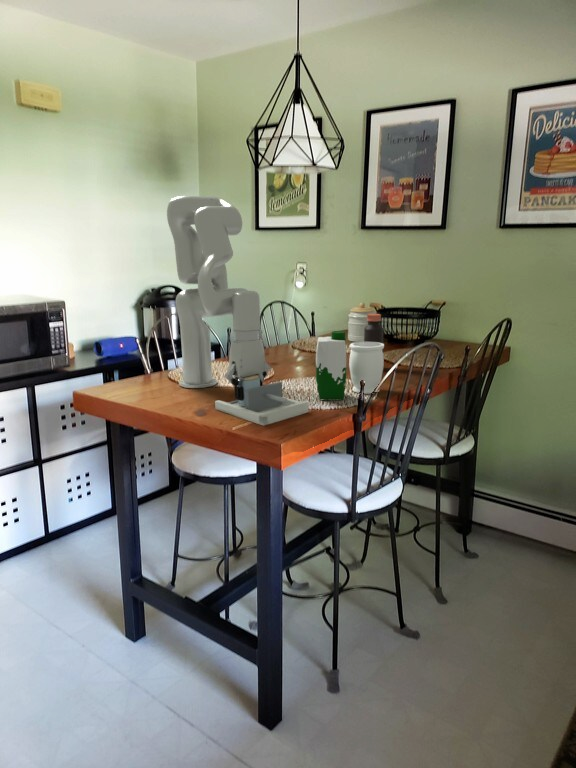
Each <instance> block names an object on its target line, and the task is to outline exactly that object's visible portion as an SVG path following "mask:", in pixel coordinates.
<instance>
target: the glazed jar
mask: <svg viewBox="0 0 576 768" xmlns="http://www.w3.org/2000/svg"><path fill="white" fill-rule="evenodd" d="M238 380H239V378H238ZM259 386H260V377H259V375H258V374H256V375H252V376H247V377H244V379H243V382H242V386H241V387H243V394H244V400H243V401H240V400H238V404H240V405H244V406H246V390H247V389H251V388H255V387H259Z"/></svg>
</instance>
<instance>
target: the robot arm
mask: <svg viewBox="0 0 576 768" xmlns="http://www.w3.org/2000/svg"><path fill="white" fill-rule="evenodd" d="M166 219H167V223H168V227H169V230H170V232H171V235H172V238H173V244H174V252H175V253H174V254H175V263H176V264H175V265H176V270H177V276H178V279H179V282H180V283H182V284H184V285H197V288H189V289H183V290H181V291H180V292H178V294H177V295H176V297H175V308H176V311H177V316H178V320H179V321H178V322H179V327H180V328H179V330H180V342H181V343H180V344H181V355H182V358H181V360H182V370H180V371H179V374H180V375H182V379H180V380H178V385H179V386H180V387H182V388H185V389H186V388H187V389H203V388H208V387H213V386H215V385H216V384H217V383H218V379H217V378H216V377H213V368H212V349H211V348H212V346H211V331H210V328H209V326H208V325H207V324H206V322H204V320H203V319H206V318H214V317H223V316H232V323H233V324H232V326H233V327H232V329H233V340H232V341H231V343H230V348H229V358H228V370H227V372H226V373H225V374H224V377H225V378H226V380H227V381H229V383H230V384H231V385H232V386H233V387H234V390H233V391H234V399H235V400H240V401H243V400H244V394H243V387H241V386H242V382H243V379H244V377H247V376H252V375H256V374H258V375H259V377H260V386H264V384H263V383H264V382H265V378H266V377H267V374H268V373H269V371H270V369H271V365H269V364H268V363H267V361H266V357H265V356H266V355H265V348H264V347H265V346H264V344H263V339H262V338H261V335H262V334H263V332H264V331H263V330H262V329H261V310H260V309H261V308H260V307H261V305H260V304H261V301H260V295H259V294H260V293H258V291H254V290H248V289H246V288H243V287H235V288H234V287H233V288H229V285H228V284H229V283H228V272H227V271H228V270H227V266H226V264H227V263H228V262H229V261H231V259H232V258H233V256H234V250H233V247H232V244H231V241H230V237H229V236H237V235H239V234H240V233H241V232H242V229H243V218H242V216H241V213H240V212H239V210H238V209H237V208H236V207H235V205H233V204H231V203H229V202H228V201H226V200H224V199H223V198H220V197H217V196H205V195H204V196H201V195H180V196H179V195H178V196H176V197H173V198H171V199H170V200H169V202H168V204H167V208H166ZM192 225H194V226H195V228H194V227H193V226H192ZM238 378H239V380H238Z"/></svg>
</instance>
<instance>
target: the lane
mask: <svg viewBox="0 0 576 768" xmlns="http://www.w3.org/2000/svg"><path fill="white" fill-rule="evenodd" d="M283 398H286V399H287V402H286V403H284V402H283V404H282V405H279V406H275V407H271V408H268V409H264V410H261V411H257V412H254V411H251V410H248V409H246V406H244V405H240V404H238V400H237V399H235V400H232V401H228V402H226V401H223V400H220V399H219V400H215V401H214V406H215V407H214V408H215V410H217V411H220V412H222V413H226V414H227V415H231V416H234V417H236V418H240V419H242V420H246V421H249V422H251V423H255V424H256V425H261V426H267V425H271V424H274V423H278V422H280V421H284V420H287V419H291V418H294V417H297V416H300V415H303V414H306V413H309V401H307V400H301V401H299V400H296V399H292V398H290V397H289V398H288V397H285V396H283Z"/></svg>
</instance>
